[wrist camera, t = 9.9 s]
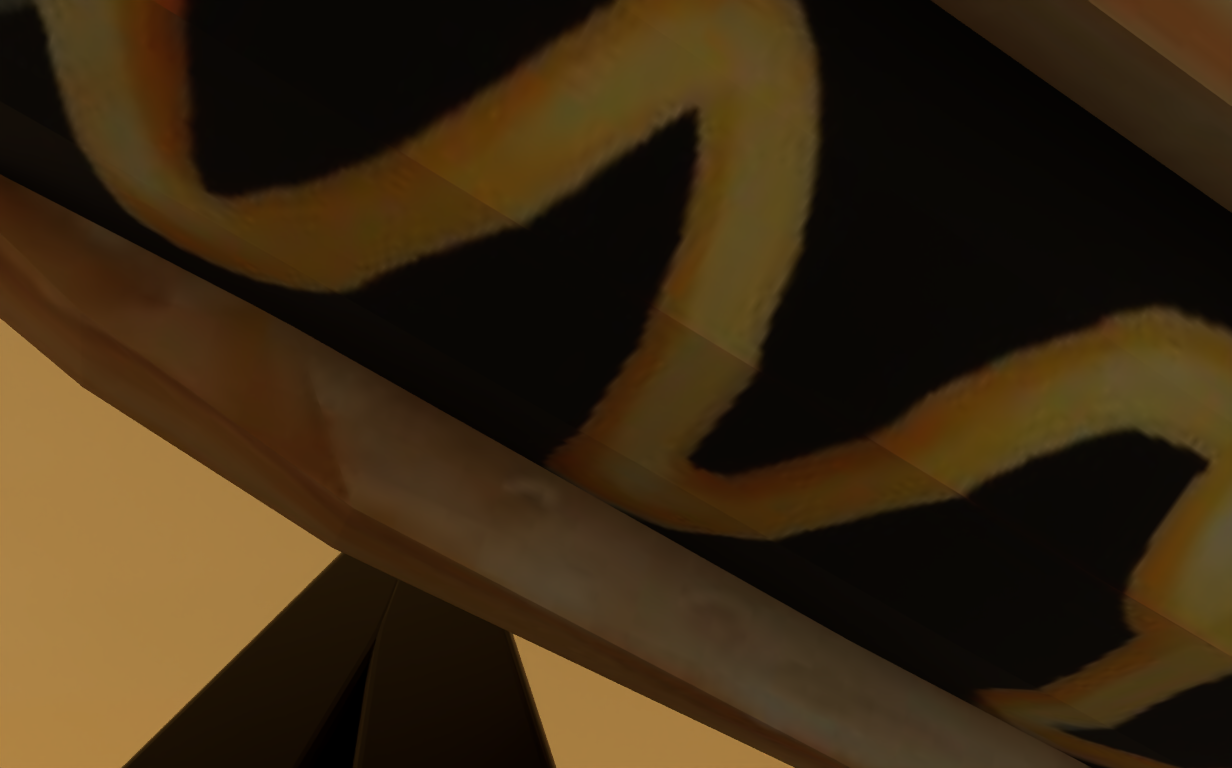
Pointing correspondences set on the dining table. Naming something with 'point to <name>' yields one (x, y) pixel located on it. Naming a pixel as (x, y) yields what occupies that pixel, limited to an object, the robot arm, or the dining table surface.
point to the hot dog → (689, 334)
